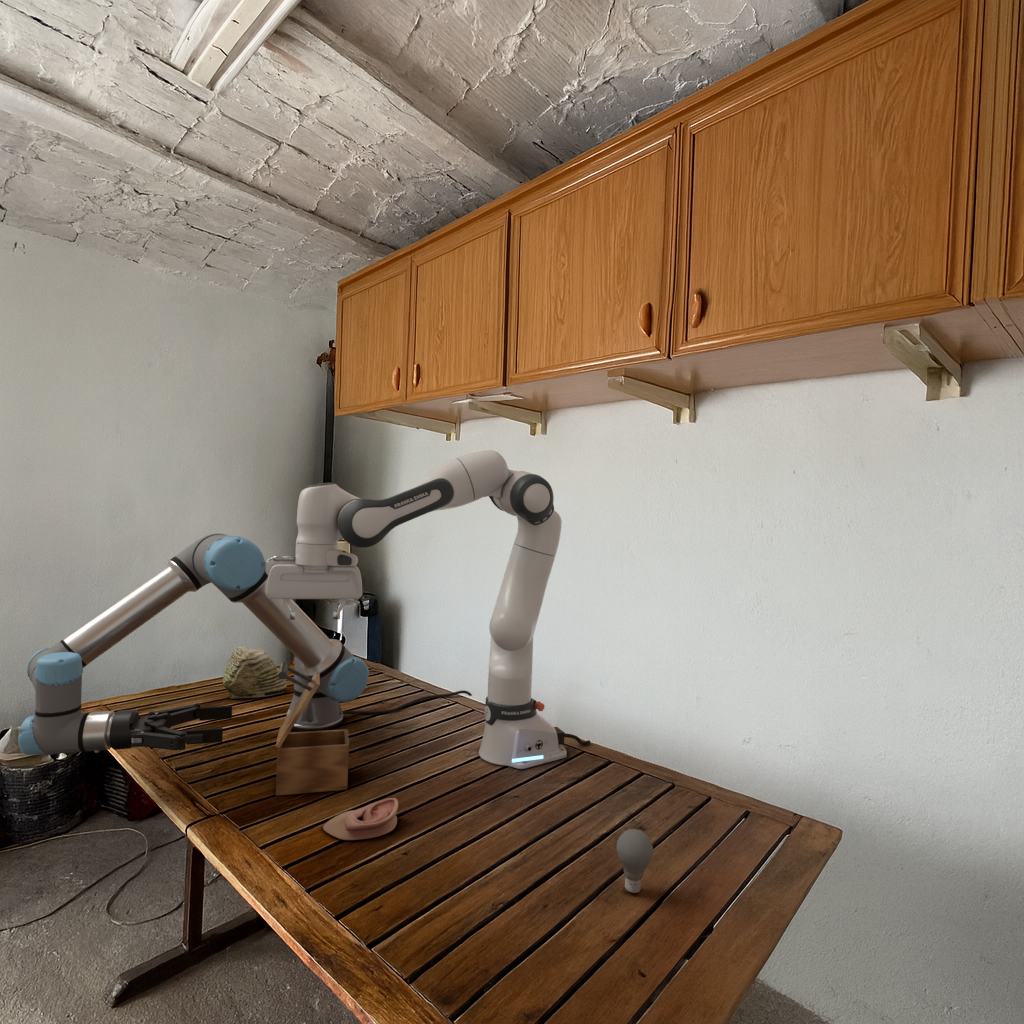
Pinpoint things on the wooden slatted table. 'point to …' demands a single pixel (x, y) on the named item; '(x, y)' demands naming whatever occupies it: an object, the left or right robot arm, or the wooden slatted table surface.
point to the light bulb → (634, 857)
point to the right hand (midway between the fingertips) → (314, 619)
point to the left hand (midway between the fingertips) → (227, 722)
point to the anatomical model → (364, 821)
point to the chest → (313, 762)
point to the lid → (301, 702)
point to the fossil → (252, 674)
